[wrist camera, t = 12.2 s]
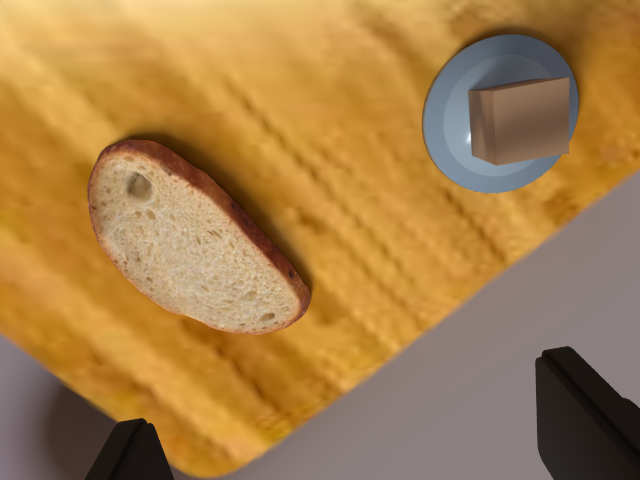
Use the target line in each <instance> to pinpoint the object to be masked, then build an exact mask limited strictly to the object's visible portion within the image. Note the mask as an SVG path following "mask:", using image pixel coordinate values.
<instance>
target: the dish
mask: <svg viewBox="0 0 640 480" xmlns="http://www.w3.org/2000/svg"><path fill="white" fill-rule="evenodd" d="M544 78H569V141H570V139H571V137H572V135H573V132H574V129H575V125H576V121H577V116H578V105H579V102H578V91H577V86H576V82H575V79H574V76H573V73H572V71H571V69H570V67H569V65H568V64H567V63H566V61H565V60H564V58H563V57H562V56H561V55H560V54H559V53H558V52H557V51H556V50H555V49H554V48H552V47H551V46H550V45H548V44H546V43H545V42H543V41H541V40H539V39H536V38H533V37H530V36H525V35H518V34H507V35H499V36H494V37H491V38H487V39H483V40H480V41H478V42H475V43H473V44H471V45H469V46H467V47H466V48H464V49H462V50H461V51H459V52H458V53H457V54H456V55H454V56H453V57H452V58H451V59H450V60H449V61H448V62H447V63H446V64H445V65H444V66H443V67H442V69H441V70H440V71H439V72H438V74H437V75H436V77H435V79H434V80H433V82H432V84H431V86H430V88H429V90H428V93H427V96H426V99H425V102H424V107H423V112H422V133H423V139H424V143H425V146H426V149H427V151H428V154H429V156H430V158H431V159H432V161H433V162H434V164H435V165H436V167H437V168H438V169H439V170H440V171H441V172H442V173H443V174H444V175H445V176H447V177H448V178H449V179H451V180H452V181H454V182H455V183H457V184H459V185H460V186H462V187H465V188H467V189H470V190H473V191H477V192H483V193H501V192H507V191H511V190H515V189H518V188H520V187H523V186H525V185H527V184H529V183H531V182H533V181H534V180H536V179H537V178H539V177H540V176H542V175H543V174H544V173H545V172H546V171H548V170H549V169H550V168H551V167H552V166H553V165H554V164H555V163H556V161H557V160H558V159H559V158H560V156H561V155H562V154H561V155H555V156H550V157H544V158H538V159H533V160H527V161H521V162H516V163H510V164H504V165H499V166H496V165H493V164H491V163H489V162H486V161H484V160H481V159H479V158H477V157H474V156H472V150H471V134H470V118H469V102H468V91H470V90H475V89H481V88H486V87H492V86H497V85H503V84H508V83H514V82H519V81H525V80H530V79H544Z"/></svg>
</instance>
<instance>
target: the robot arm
mask: <svg viewBox="0 0 640 480" xmlns="http://www.w3.org/2000/svg"><path fill="white" fill-rule="evenodd" d="M535 367H536V404H537V438H538V439H537V441H538V450H539V454H540V457H541V459H542V461H543V463H544V465H545V466H546V468H547V470H548V471H549V472H550V474H551V476H552V477H553V479H554V480H640V408H639V407H638V406H637V405H636V404H634V403H633V402H632V401H630V400H629V399H626V398H622V397H621V396H620V395H619V394H618V393H617V392H616V391H615V390H614V389H613V388H612V387H611V386H610V385H609V384H608V383H607V382H606V381H605V380H604V379H603V378H602V377H601V376H600V375H599V374H598V373H597V372H596V371H595V370H594V369H593V368H592V367H591V366H590V365H589V364H588V363H587V362H586V361H585V360H584V359H583V358H581V356H580V355H579V354H578V353H576V351H575V350H574V349H572V348H571V347H568V346H566V347H560V348H554V349H548V350H544V351H543V352H542V357H539V358H537V359H536V362H535ZM85 480H174V478H173V475H172V472H171V470H170V467H169V464H168V462H167V459H166V456H165V454H164V451H163V448H162V446H161V443H160V440H159V438H158V435H157V432H156V430H155V427H154V425H153V424H152V423H147V422H146V420H145V419H143V418H139V419H134V420H128V421H122V422H119V423H117V424H116V426H115V427H114V429H113V431H112V432H111V434H110V436H109V438H108V439H107V441H106V443H105V445H104V446H103V448H102V450H101V452H100V453H99V455H98V457H97V459H96V461H95V462H94V464H93V466H92V468H91V469H90V471H89V473H88V475H87V476H86V478H85Z"/></svg>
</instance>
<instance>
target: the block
mask: <svg viewBox="0 0 640 480" xmlns="http://www.w3.org/2000/svg"><path fill="white" fill-rule="evenodd" d="M468 102H469V118H470V134H471V150H472V156H474V157H477V158H479V159H481V160H484V161H486V162H489V163H491V164H493V165H496V166H499V165H504V164H510V163H516V162H521V161H527V160H533V159H538V158H544V157H550V156H555V155H561V154H567V153H569V78H544V79H530V80H525V81H519V82H514V83H508V84H503V85H497V86H492V87H486V88H481V89H475V90H470V91H468Z"/></svg>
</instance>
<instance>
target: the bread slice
mask: <svg viewBox="0 0 640 480" xmlns="http://www.w3.org/2000/svg"><path fill="white" fill-rule="evenodd" d="M88 207H89V212H90V216H91V221H92V225H93V229H94V231H95V234H96V238H97V240H98V242H99V244H100V245H101V247H102V248H103V250H104V251H105V253H106V254H107V255H108V257H109V258H110V259H111V261H112V262H113V263H114V265H115V266H116V267H117V269H118V270H119V271H120V272H121V273H122V274H123V275H124V276H125V278H126V279H127V280H129V281H130V282H131V283H132V284H133V285H134V286H135V287H136V288H137V290H138V291H140V292H141V293H142V294H144V295H146V296H147V297H148V298H150V299H151V300H152V301H153V302H155V303H156V304H158V305H160V306H161V307H163V308H164V309H166V310H168V311H169V312H172V313H174V314H180V315H186V316H190V317H192V318H194V319H196V320H199V321H201V322H203V323H204V324H206V325H208V326H209V327H211V328H215V329H217V330H222V331H226V332H230V333H241V334H252V335H260V334H266V333H270V332H274V331H278V330H280V329H284V328H287V327H289V326H290V325H292V324H293V323H294V322H296V321H297V320H298V319H300V318H301V317H302V316H303V315H304V314H305V312H306V311H307V309H308V306H309V303H310V300H311V295H310V292H309V289H308V287H307V286H306V285H305V284H304V283H303V281H302V279H301V277H300V276H299V274H298V273H297V272H296V270H295V269H294V267H293V266H292V264H291V262H290V261H289V260H288V259H287V258H286V257H285V256H284V255H283V254H282V252H281V251H280V250H279V249H278V247H277V246H275V245H274V244H273V243H272V242H271V241H270V240H269V239H268V237H267V236H266V235H265V234H264V233H263V232H262V231H261V230H260V229H259V228H258V227H257V225H256V224H255V223H254V222H253V221H252V220H251V218H250V217H249V216H248V215H247V214H246V213H245V212H244V211H243V210H242V208H241V207H240V206H239V205H238V204H237V203H236V202H235V201H234V200H233V199H232V198H231V197H230V196H229V195H228V194H227V193H226V192H225V191H224V190H223V189H222V188H221V187H220V186H218V185H217V183H216V182H215V181H214V180H213V179H212V178H211V177H210V176H208V175H207V174H206V173H205V172H203V171H202V170H200V169H198V168H196V167H194V166H192V165H191V164H189V163H188V162H187V161H185V160H184V159H183V158H182V157H180V156H179V155H177V154H176V153H174V152H173V151H171V150H170V149H168V148H166V147H165V146H163V145H161V144H159V143H157V142H154V141H148V140H126V141H122V142H119V143H116V144H114V145H111V146H108V147H106V148H105V149H104V150H103V151H102V152H101V153H100V155H99V157H98V159H97V161H96V163H95V166H94V168H93V171H92V173H91V176H90V179H89V182H88Z"/></svg>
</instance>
